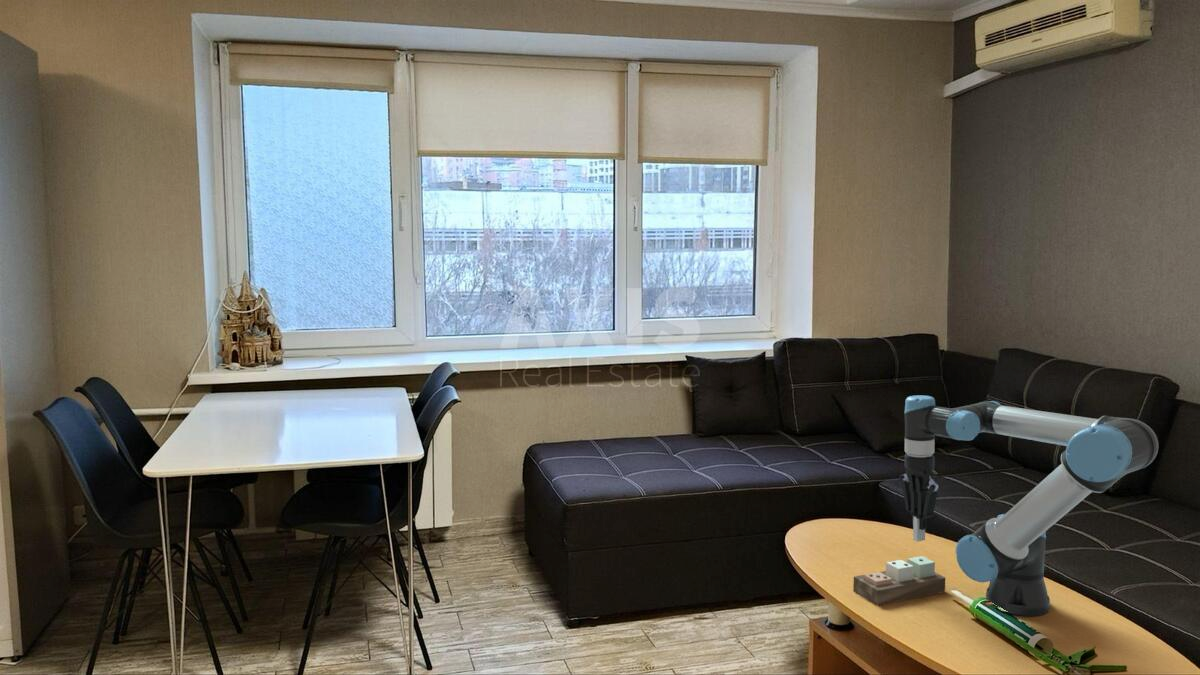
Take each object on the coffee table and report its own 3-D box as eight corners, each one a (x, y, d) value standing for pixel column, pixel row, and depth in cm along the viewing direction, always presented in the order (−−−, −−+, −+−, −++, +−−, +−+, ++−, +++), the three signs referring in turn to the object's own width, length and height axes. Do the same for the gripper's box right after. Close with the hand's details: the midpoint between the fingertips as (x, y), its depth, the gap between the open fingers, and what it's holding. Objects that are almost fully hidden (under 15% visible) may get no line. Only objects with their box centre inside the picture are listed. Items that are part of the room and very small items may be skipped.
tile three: (891, 596, 241) (891, 577, 240) (875, 599, 239) (876, 580, 238) (879, 589, 245) (879, 571, 245) (863, 592, 244) (864, 574, 243)
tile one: (934, 580, 245) (934, 561, 244) (919, 582, 243) (919, 564, 243) (921, 573, 250) (922, 555, 249) (906, 576, 248) (907, 557, 247)
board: (944, 591, 244) (945, 577, 243) (876, 605, 236) (877, 590, 236) (919, 578, 253) (920, 564, 252) (853, 590, 245) (853, 576, 245)
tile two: (913, 584, 243) (913, 565, 242) (897, 586, 241) (898, 568, 240) (900, 577, 247) (901, 558, 247) (885, 580, 246) (886, 561, 245)
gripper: (948, 457, 237) (948, 544, 239) (912, 447, 249) (912, 531, 251) (926, 460, 234) (926, 549, 236) (891, 450, 246) (891, 535, 248)
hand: (919, 539), depth 244 cm, fingers closed
